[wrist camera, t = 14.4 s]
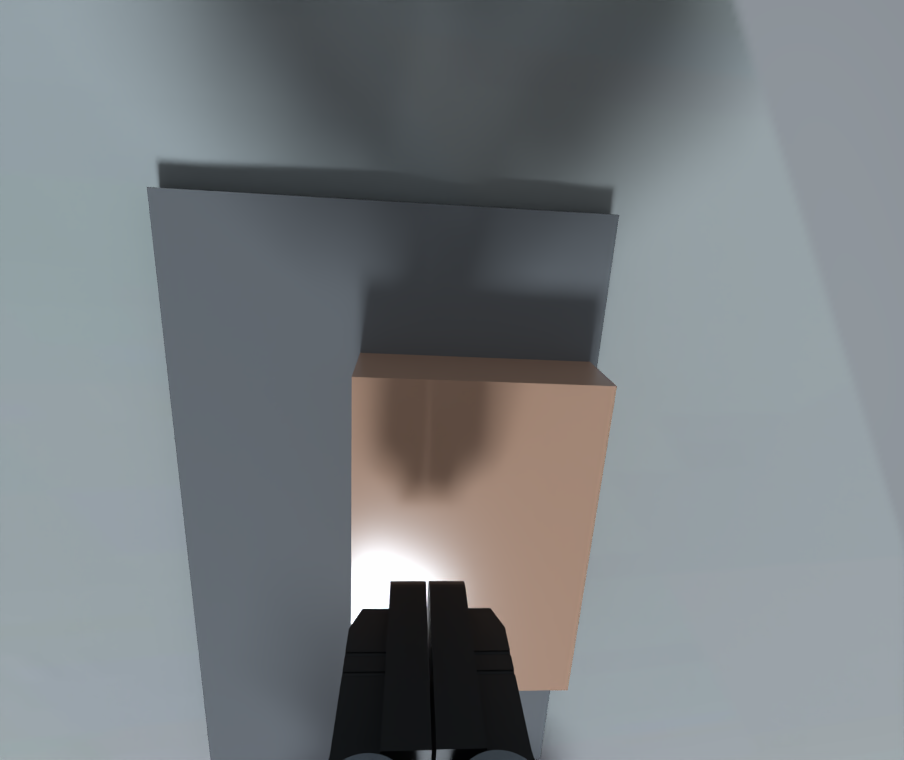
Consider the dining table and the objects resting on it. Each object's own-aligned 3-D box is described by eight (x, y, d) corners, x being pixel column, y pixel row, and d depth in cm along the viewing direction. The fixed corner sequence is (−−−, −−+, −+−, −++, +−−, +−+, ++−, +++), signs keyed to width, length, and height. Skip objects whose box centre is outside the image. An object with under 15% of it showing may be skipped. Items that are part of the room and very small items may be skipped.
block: (351, 376, 12) (616, 386, 12) (360, 352, 14) (590, 361, 14) (350, 692, 15) (567, 690, 15) (358, 636, 17) (550, 635, 17)
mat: (158, 187, 13) (146, 187, 12) (610, 214, 14) (618, 214, 13) (217, 749, 18) (211, 766, 18) (536, 742, 19) (540, 758, 19)
